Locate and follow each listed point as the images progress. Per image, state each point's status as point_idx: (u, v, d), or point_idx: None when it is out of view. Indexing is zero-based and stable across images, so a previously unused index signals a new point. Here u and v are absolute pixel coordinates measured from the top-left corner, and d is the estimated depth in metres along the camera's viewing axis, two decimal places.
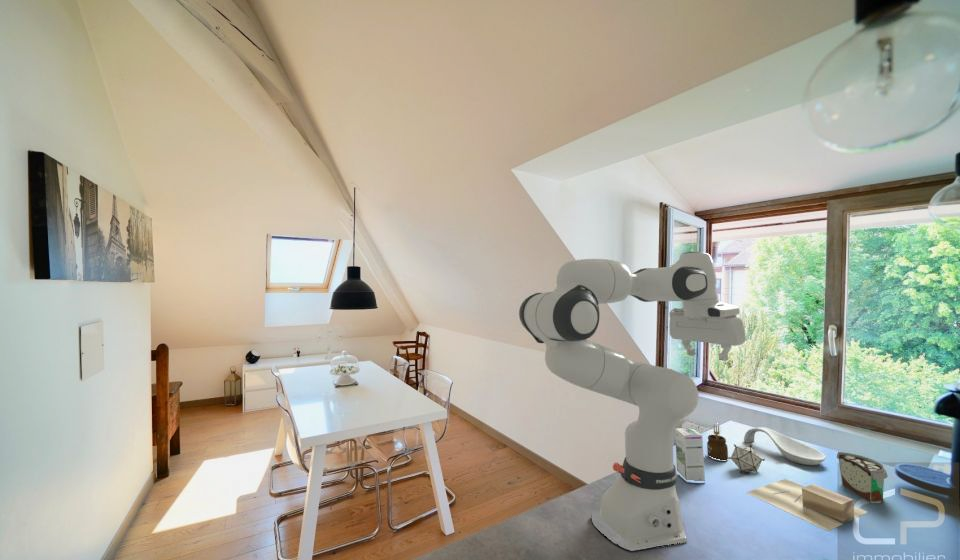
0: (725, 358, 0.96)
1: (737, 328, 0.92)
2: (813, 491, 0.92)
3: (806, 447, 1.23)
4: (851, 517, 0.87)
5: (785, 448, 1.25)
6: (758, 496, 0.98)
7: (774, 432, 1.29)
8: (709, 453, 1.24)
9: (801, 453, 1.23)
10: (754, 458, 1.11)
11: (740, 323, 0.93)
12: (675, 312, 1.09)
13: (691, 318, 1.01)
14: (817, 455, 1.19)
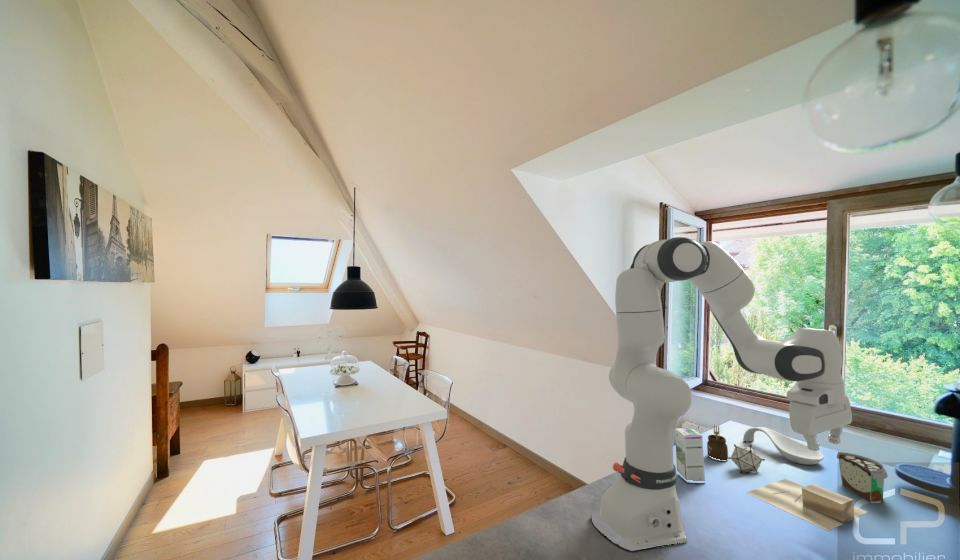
0: (810, 447, 0.90)
1: (796, 416, 0.89)
2: (813, 491, 0.92)
3: (805, 447, 1.23)
4: (851, 517, 0.87)
5: (784, 448, 1.25)
6: (758, 496, 0.98)
7: (773, 432, 1.30)
8: (709, 453, 1.24)
9: (800, 453, 1.23)
10: (754, 458, 1.11)
11: (804, 413, 0.87)
12: None
13: None
14: (815, 455, 1.20)
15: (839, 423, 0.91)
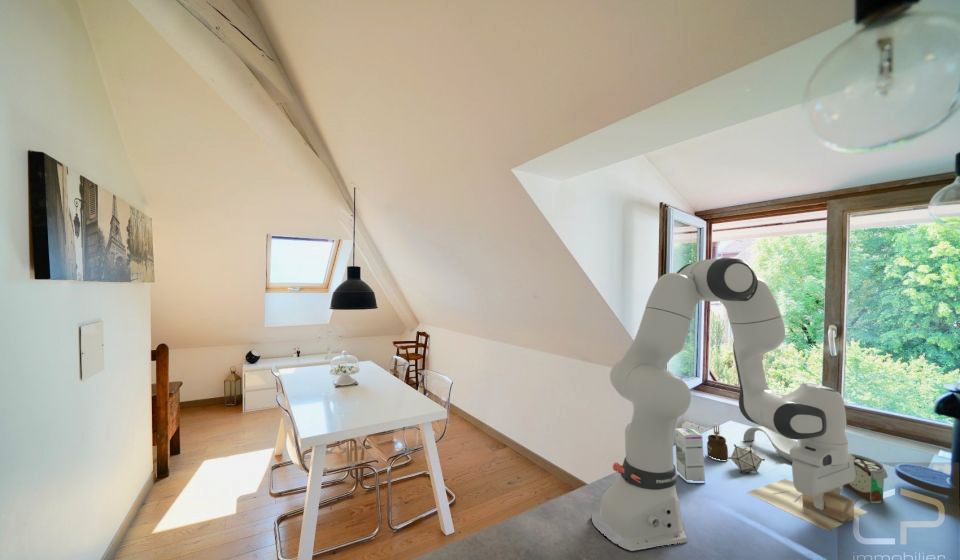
0: (817, 505, 0.89)
1: (799, 475, 0.88)
2: None
3: None
4: (851, 517, 0.87)
5: (782, 447, 1.26)
6: (758, 496, 0.98)
7: (772, 431, 1.30)
8: (709, 453, 1.24)
9: None
10: (754, 458, 1.11)
11: (808, 473, 0.87)
12: None
13: None
14: None
15: (843, 481, 0.91)
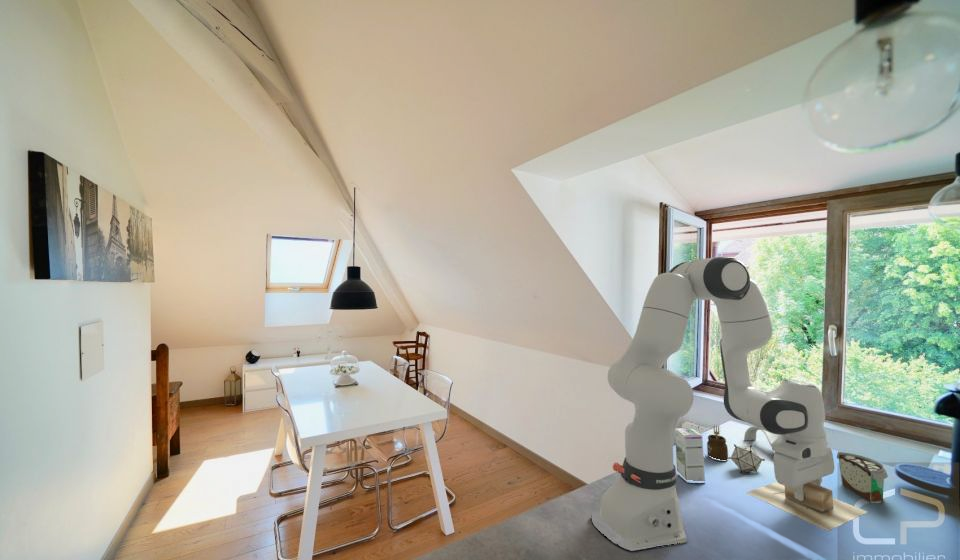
0: (797, 497, 0.93)
1: (780, 468, 0.92)
2: None
3: None
4: (830, 507, 0.91)
5: None
6: (758, 496, 0.98)
7: None
8: (709, 453, 1.24)
9: None
10: (754, 458, 1.11)
11: (788, 466, 0.90)
12: None
13: None
14: None
15: (822, 474, 0.95)
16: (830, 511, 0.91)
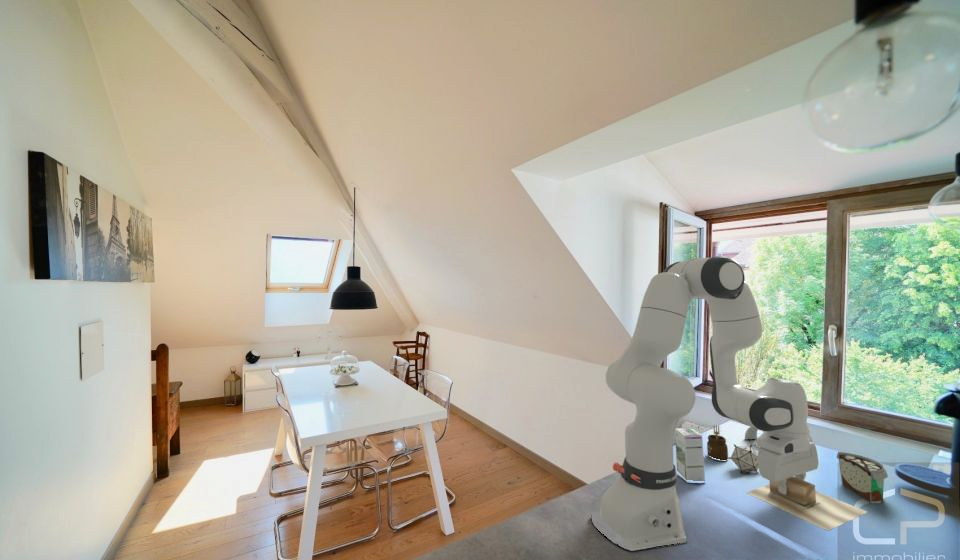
0: (781, 490, 0.97)
1: (764, 462, 0.95)
2: None
3: None
4: (812, 501, 0.94)
5: None
6: (758, 496, 0.98)
7: None
8: (709, 453, 1.24)
9: None
10: (754, 458, 1.11)
11: (771, 460, 0.94)
12: None
13: None
14: None
15: (805, 469, 0.98)
16: (830, 511, 0.91)
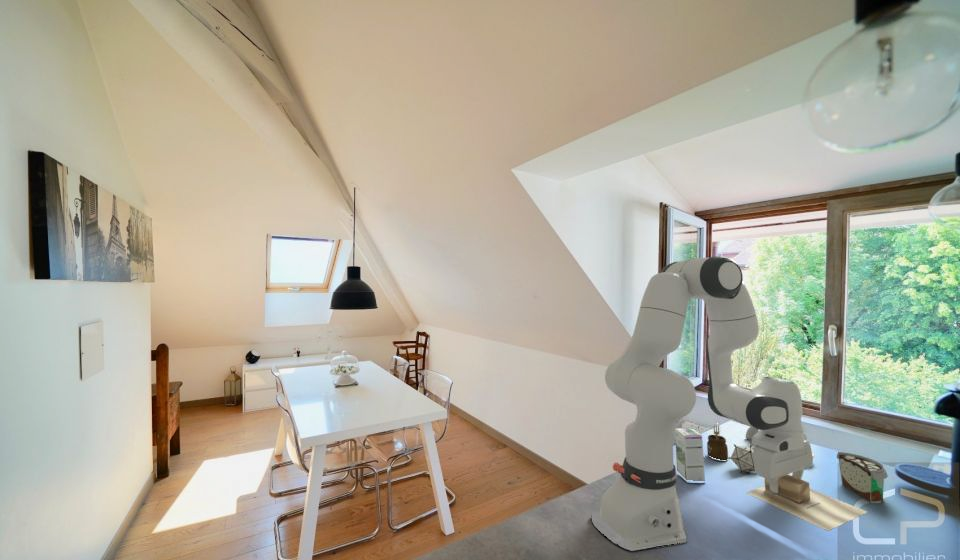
0: (772, 489, 0.97)
1: (759, 460, 0.96)
2: None
3: None
4: (807, 498, 0.96)
5: None
6: (758, 496, 0.98)
7: None
8: (709, 453, 1.24)
9: None
10: None
11: (766, 458, 0.95)
12: None
13: None
14: None
15: (800, 466, 0.99)
16: (830, 511, 0.91)
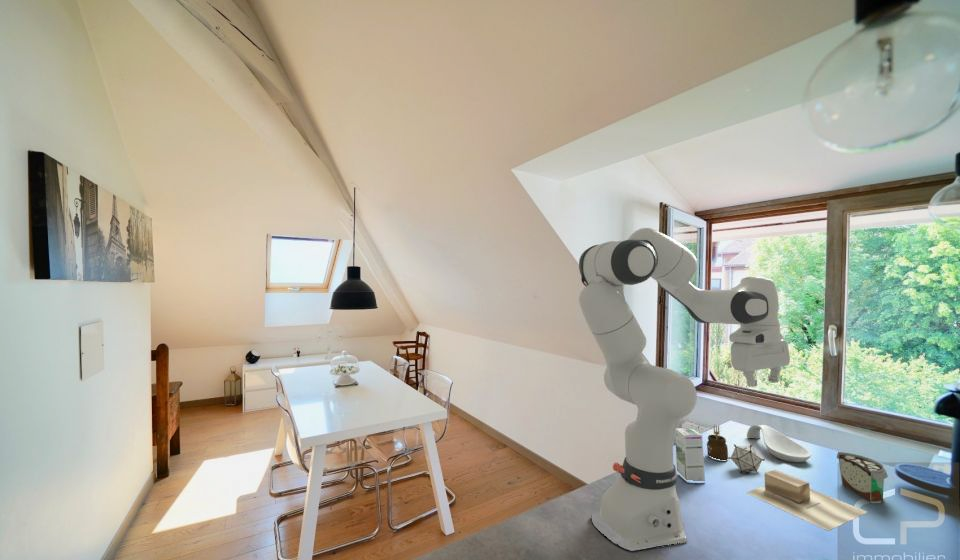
0: (749, 384, 0.99)
1: (736, 354, 0.98)
2: (773, 476, 1.00)
3: (799, 447, 1.24)
4: (807, 498, 0.96)
5: (777, 445, 1.27)
6: (758, 496, 0.98)
7: (772, 430, 1.32)
8: (709, 453, 1.24)
9: (793, 452, 1.24)
10: (754, 458, 1.11)
11: (743, 351, 0.96)
12: None
13: None
14: (805, 455, 1.20)
15: (777, 363, 1.01)
16: (830, 511, 0.91)
